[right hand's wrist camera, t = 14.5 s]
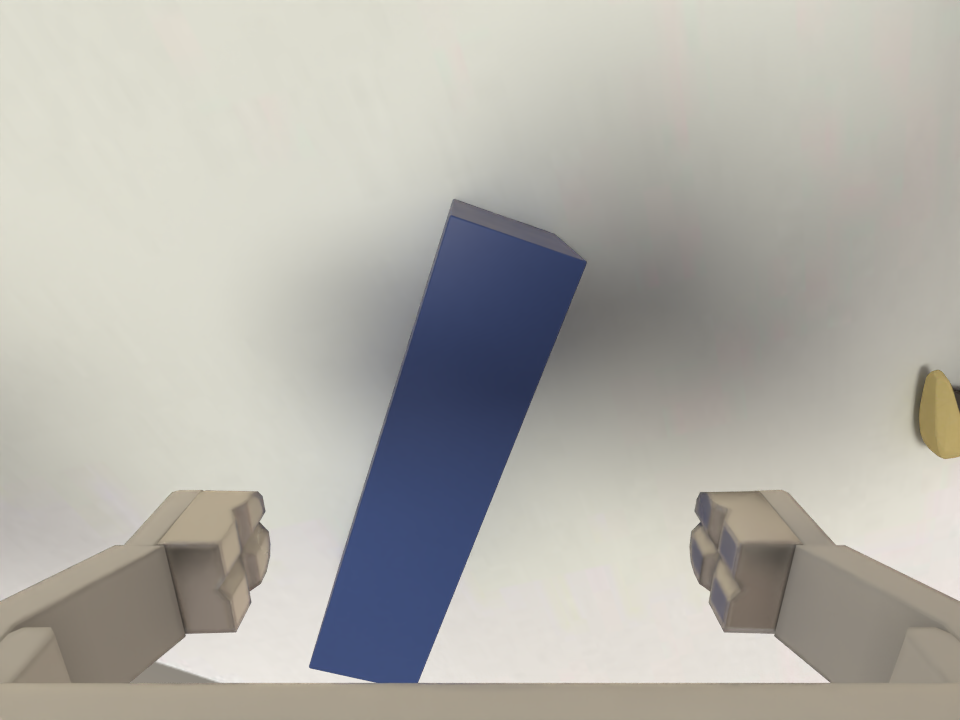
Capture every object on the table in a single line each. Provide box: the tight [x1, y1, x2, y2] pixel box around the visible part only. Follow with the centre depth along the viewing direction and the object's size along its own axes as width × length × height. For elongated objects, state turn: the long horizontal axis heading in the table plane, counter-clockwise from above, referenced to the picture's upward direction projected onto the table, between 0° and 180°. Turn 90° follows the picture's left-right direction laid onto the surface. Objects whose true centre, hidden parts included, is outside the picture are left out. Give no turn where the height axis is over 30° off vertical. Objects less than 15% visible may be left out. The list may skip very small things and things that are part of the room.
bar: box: [309, 199, 587, 683], centre depth 28 cm, size 23×6×8 cm, turn 161°
